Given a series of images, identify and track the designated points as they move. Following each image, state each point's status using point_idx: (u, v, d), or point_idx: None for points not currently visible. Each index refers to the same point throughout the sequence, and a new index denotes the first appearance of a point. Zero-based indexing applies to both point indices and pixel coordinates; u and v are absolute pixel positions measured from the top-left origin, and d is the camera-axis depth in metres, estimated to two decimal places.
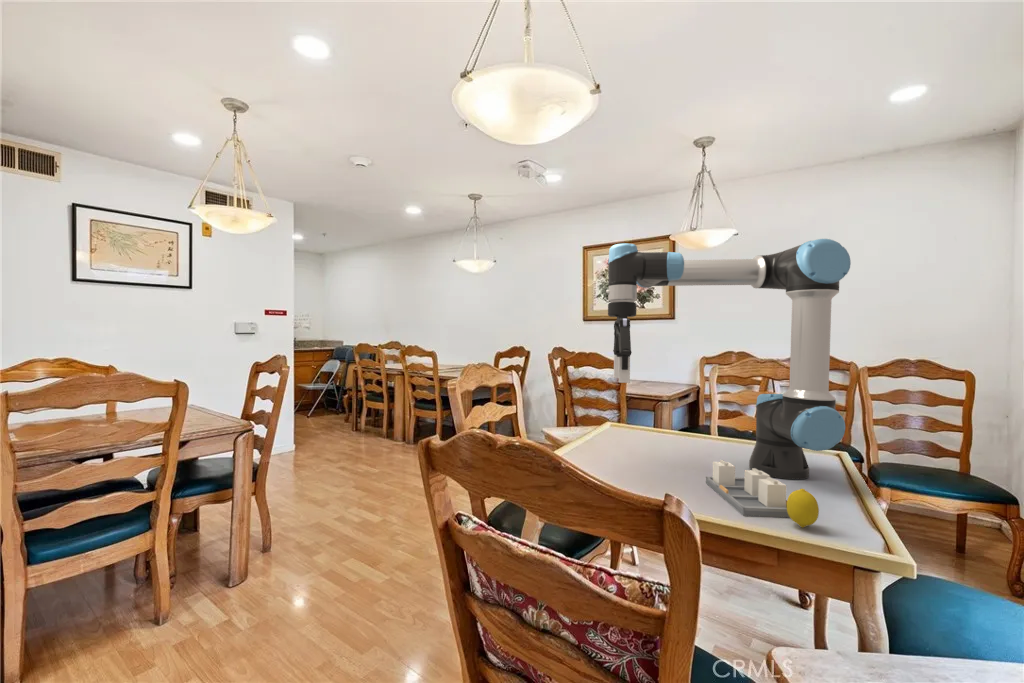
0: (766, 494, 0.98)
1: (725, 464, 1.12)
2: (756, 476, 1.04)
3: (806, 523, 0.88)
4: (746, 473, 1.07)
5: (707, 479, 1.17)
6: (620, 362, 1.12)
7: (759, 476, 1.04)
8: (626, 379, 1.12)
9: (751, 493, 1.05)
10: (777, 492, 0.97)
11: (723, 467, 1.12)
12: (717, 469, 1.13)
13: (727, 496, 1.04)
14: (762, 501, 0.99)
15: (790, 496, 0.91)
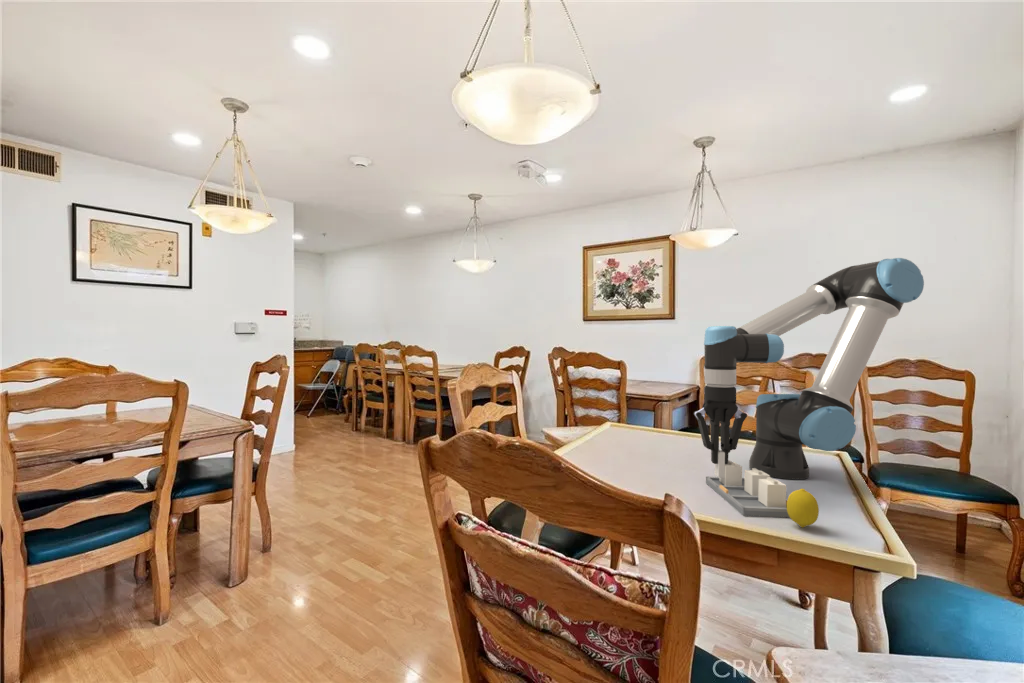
0: (766, 494, 0.98)
1: (732, 464, 1.12)
2: (756, 476, 1.04)
3: (806, 523, 0.88)
4: (746, 473, 1.07)
5: (707, 479, 1.17)
6: None
7: (759, 476, 1.04)
8: (717, 473, 1.13)
9: (751, 493, 1.05)
10: (777, 492, 0.97)
11: (730, 467, 1.12)
12: None
13: (727, 496, 1.04)
14: (762, 501, 0.99)
15: (790, 496, 0.91)
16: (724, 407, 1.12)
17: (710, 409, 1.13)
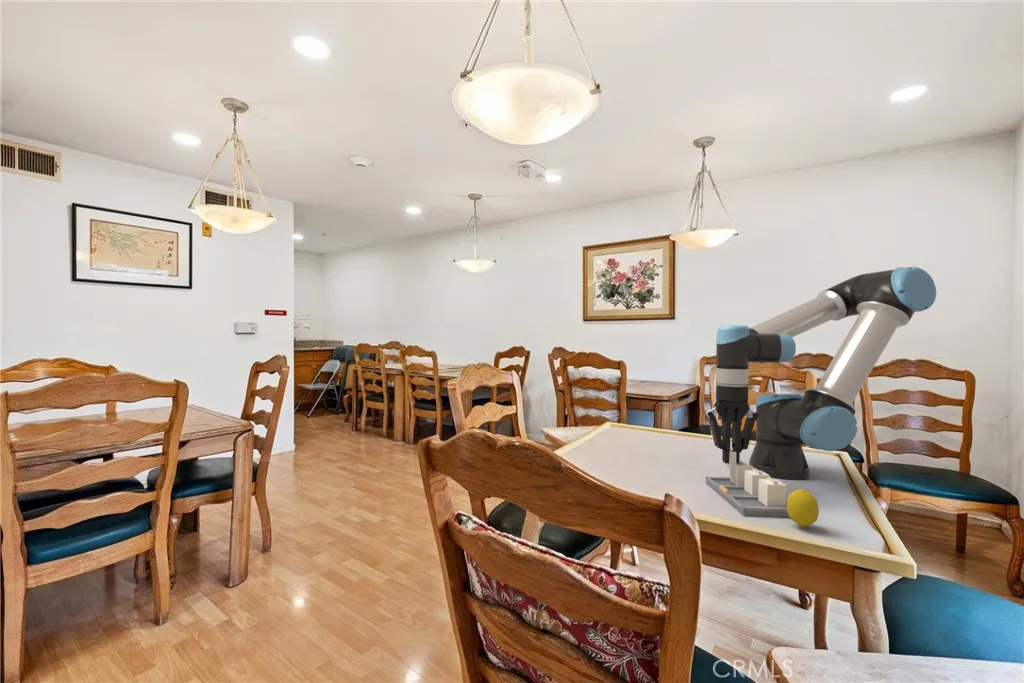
0: (766, 494, 0.98)
1: (743, 465, 1.12)
2: (756, 476, 1.04)
3: (806, 523, 0.88)
4: (746, 473, 1.07)
5: (707, 479, 1.17)
6: None
7: (759, 476, 1.04)
8: (728, 473, 1.13)
9: (751, 493, 1.05)
10: (777, 492, 0.97)
11: (741, 468, 1.11)
12: None
13: (727, 496, 1.04)
14: (762, 501, 0.99)
15: (790, 496, 0.91)
16: (736, 407, 1.12)
17: (722, 408, 1.12)
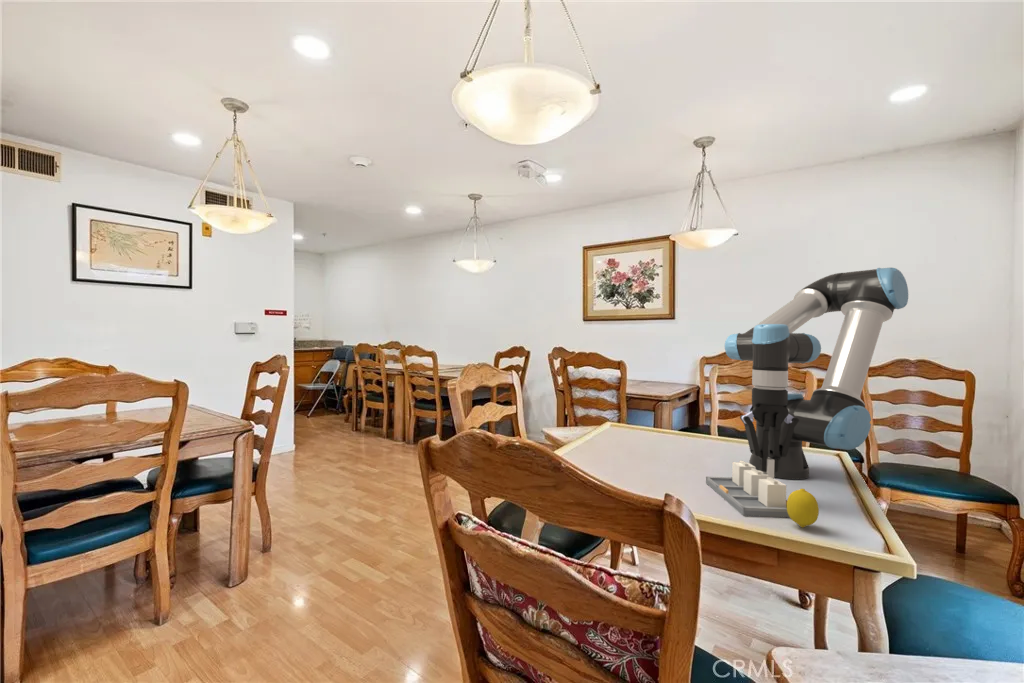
0: (766, 494, 0.98)
1: (745, 465, 1.12)
2: (755, 476, 1.04)
3: (806, 523, 0.88)
4: (745, 473, 1.07)
5: (707, 479, 1.17)
6: None
7: (758, 476, 1.04)
8: None
9: (750, 493, 1.05)
10: (777, 492, 0.97)
11: (743, 468, 1.11)
12: (737, 470, 1.12)
13: (727, 496, 1.04)
14: (762, 501, 0.99)
15: (790, 496, 0.91)
16: (774, 411, 1.05)
17: (759, 413, 1.05)
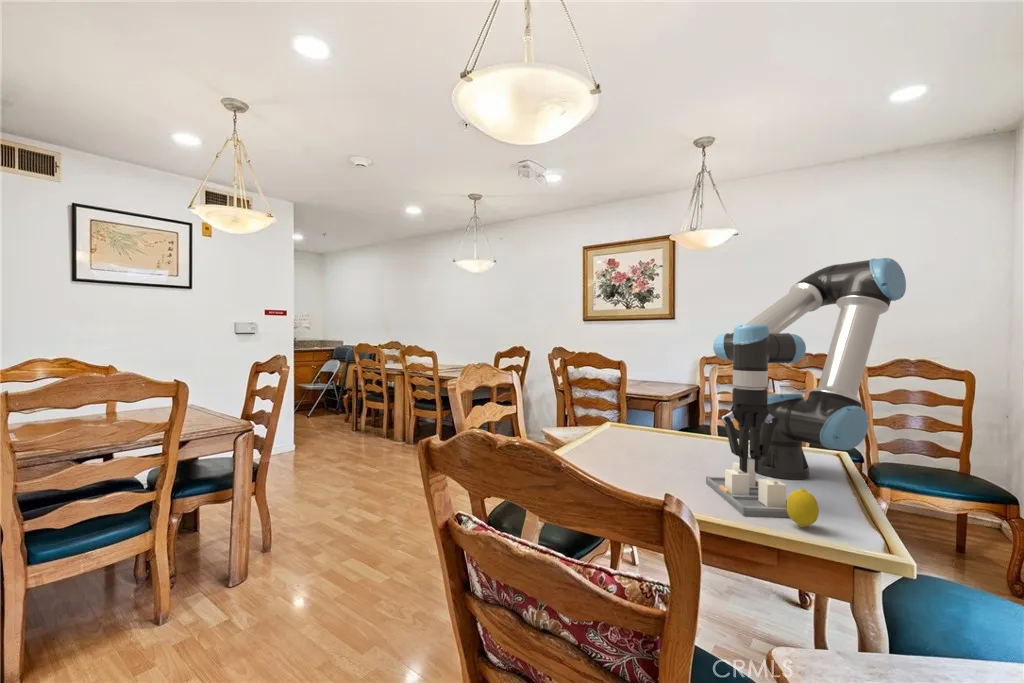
0: (766, 494, 0.98)
1: None
2: (736, 475, 1.05)
3: (806, 523, 0.88)
4: (726, 472, 1.08)
5: (707, 479, 1.17)
6: None
7: (739, 475, 1.05)
8: None
9: (731, 492, 1.05)
10: (777, 492, 0.97)
11: None
12: None
13: (727, 496, 1.04)
14: (762, 501, 0.99)
15: (790, 496, 0.91)
16: (754, 411, 1.05)
17: (739, 413, 1.05)
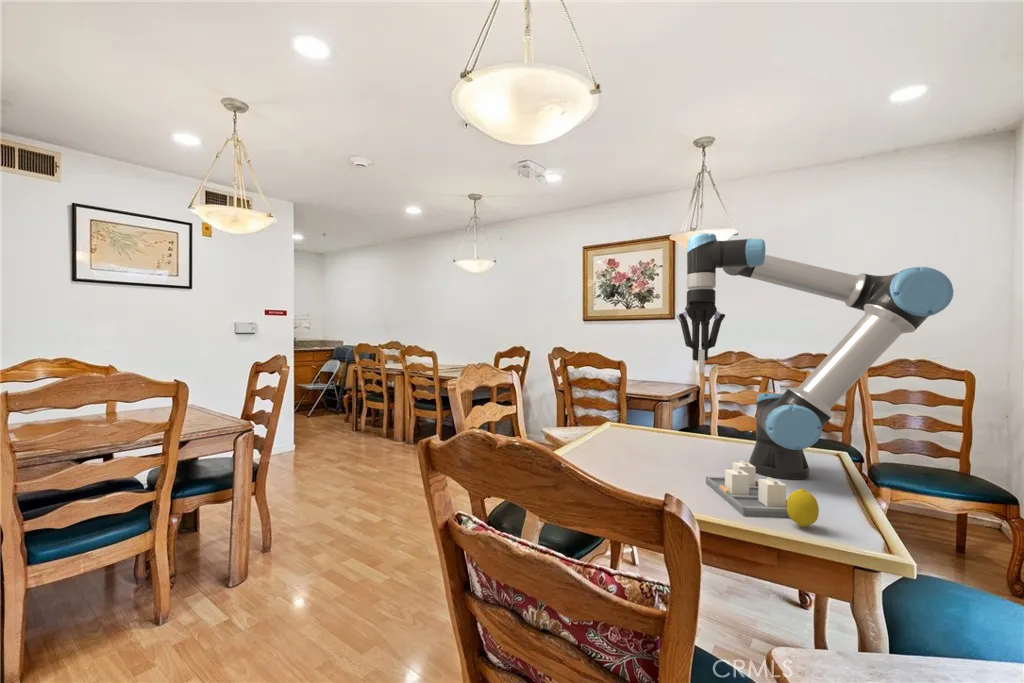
0: (766, 494, 0.98)
1: (745, 465, 1.12)
2: (736, 475, 1.05)
3: (806, 523, 0.88)
4: (726, 472, 1.08)
5: (707, 479, 1.17)
6: None
7: (739, 475, 1.05)
8: (697, 369, 1.24)
9: (731, 492, 1.05)
10: (777, 492, 0.97)
11: (743, 468, 1.11)
12: None
13: (727, 496, 1.04)
14: (762, 501, 0.99)
15: (790, 496, 0.91)
16: (704, 308, 1.23)
17: (691, 310, 1.24)
